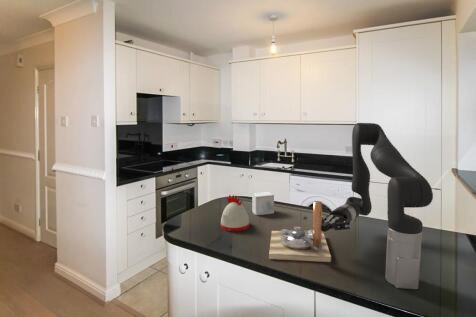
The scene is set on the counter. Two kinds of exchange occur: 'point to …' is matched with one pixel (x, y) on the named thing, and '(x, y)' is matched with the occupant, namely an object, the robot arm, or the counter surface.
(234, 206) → the kitchen timer
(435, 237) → the counter surface
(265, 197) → the skincare box
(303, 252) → the nut base plate
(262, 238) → the counter surface
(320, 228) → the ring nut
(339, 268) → the counter surface
